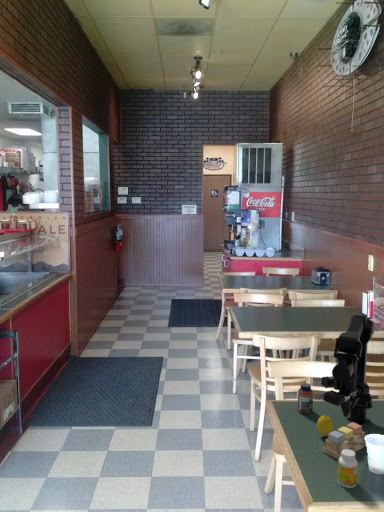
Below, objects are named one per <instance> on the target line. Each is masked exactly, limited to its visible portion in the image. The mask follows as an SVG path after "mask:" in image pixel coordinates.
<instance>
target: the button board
mask: <svg viewBox="0 0 384 512" xmlns="http://www.w3.org/2000/svg"><path fill="white" fill-rule="evenodd" d="M365 435H366V433H365V432H364V431H363V430H362V431H361V433H360V434H358V435H356V436H355V435H353V437H352V438H350V439H348V440H345V439H344V442H343V443H341V444H339V445H336V444H334V443H332V442H330V441H328V438H326V439H324V446H322V447H321V449H322V450H321V452H322V453H324V454H326V455H329V456H330V457H332V458H334V459H337V460H338V461H339V458H340V457H341V451H342V450H344V449H349V450H352V451H354V452H355V453H356V452H358V451H360V450H361V449H363V448H365V447H366V446H365V441H366V440H364V437H366V436H365Z"/></svg>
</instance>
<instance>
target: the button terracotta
mask: <svg viewBox="0 0 384 512" xmlns="http://www.w3.org/2000/svg"><path fill="white" fill-rule="evenodd" d="M346 427H347V428H349V429H351V430H353V435H355V436H356V435H358V434H360V433H361V431H363V430H362V427H363V425H359V424H357V423H355V422H352V421H351V422H350V423H347V424H346Z"/></svg>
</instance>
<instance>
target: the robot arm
mask: <svg viewBox="0 0 384 512" xmlns="http://www.w3.org/2000/svg"><path fill="white" fill-rule="evenodd" d="M375 329H376V327H375V322H374V321H373V320H371V319H369V318H368V317H367V316H365V315H359V314H352V316H351V318H350V320H349V325H348V327H347V329H346V331H344V332H341V333H340V335H339V336H338V337H337V338H336V340H335V347H334V351H333V358H335V359H337V363H336V364H335V365H334V367H333V368H332V370H331V376H323V377H321V383H320V384H321V386H322V387H323V388H325V389H329V388H333V389H334V390H333V389H332V390H329V391H326V392H324V393H323V395H322V400H323V402H327V403H330V405H334V406H336V407H337V406H340V408H341V412H342V415H343V417H344V418H346V420H348V421H350V422H351V423H352V422H353V423H356V424H358V425H361V426H363V425H364V424H366V423H369V422H370V421H371V419H370V418H368V410H370V409H373V406H374V405H373V397H372V394H371V392H370V386H369V385H368V383H367V381H366V376H367V375H366V374H367V373H366V372H367V359H368V345H369V344H368V343H369V342H370V340H372V338H373V334H375Z"/></svg>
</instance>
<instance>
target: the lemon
mask: <svg viewBox="0 0 384 512" xmlns="http://www.w3.org/2000/svg"><path fill="white" fill-rule="evenodd" d="M333 425H334V424H333V421H332V419H331V417H329V416H327V415H326V414H325V415H321V416H320V417H319V418H318V419H317V422H316V429H317V431H318V433H319V434H320V435H321V436H323V437H324V438H325V437H327V436H328V434H329V433H331V432H333V431H334V430H333V429H334V426H333Z"/></svg>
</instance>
